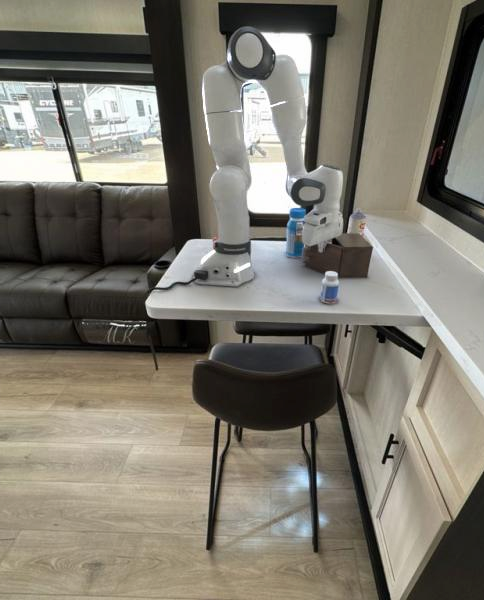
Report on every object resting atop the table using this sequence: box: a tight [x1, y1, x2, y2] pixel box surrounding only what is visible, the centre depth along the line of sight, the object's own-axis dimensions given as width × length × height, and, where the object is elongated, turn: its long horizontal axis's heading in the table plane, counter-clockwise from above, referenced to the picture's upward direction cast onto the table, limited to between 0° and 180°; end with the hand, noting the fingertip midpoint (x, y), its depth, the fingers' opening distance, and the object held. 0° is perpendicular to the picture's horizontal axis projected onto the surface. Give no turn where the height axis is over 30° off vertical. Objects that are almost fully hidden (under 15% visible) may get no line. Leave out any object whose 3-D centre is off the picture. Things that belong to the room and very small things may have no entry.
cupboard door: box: [301, 242, 343, 275], centre depth 116 cm, size 5×16×12 cm, turn 47°
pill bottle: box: [320, 271, 340, 305], centre depth 99 cm, size 6×5×10 cm
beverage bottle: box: [285, 207, 307, 259], centre depth 131 cm, size 8×8×20 cm
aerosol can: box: [346, 207, 367, 238], centre depth 135 cm, size 7×7×20 cm
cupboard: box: [330, 232, 374, 279], centre depth 121 cm, size 11×16×13 cm
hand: (321, 251), depth 115 cm, fingers closed
